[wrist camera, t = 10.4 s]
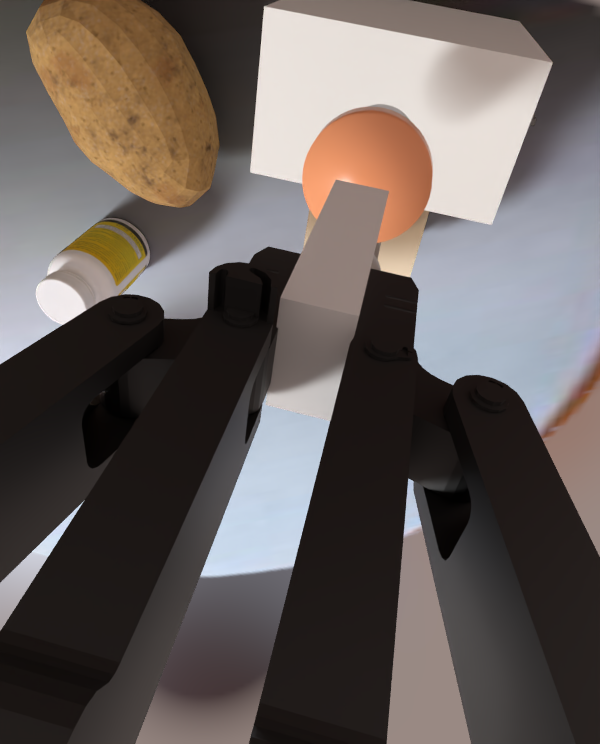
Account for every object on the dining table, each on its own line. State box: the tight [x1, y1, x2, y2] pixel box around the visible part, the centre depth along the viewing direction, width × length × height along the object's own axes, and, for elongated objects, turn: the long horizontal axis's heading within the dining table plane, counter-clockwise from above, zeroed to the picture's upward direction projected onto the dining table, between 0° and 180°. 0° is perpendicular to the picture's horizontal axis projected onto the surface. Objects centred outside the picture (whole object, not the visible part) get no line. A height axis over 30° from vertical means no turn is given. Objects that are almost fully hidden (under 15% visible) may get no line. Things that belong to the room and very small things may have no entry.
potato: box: [26, 0, 219, 208], centre depth 37 cm, size 10×14×8 cm
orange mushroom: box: [302, 104, 433, 243], centre depth 21 cm, size 4×4×5 cm
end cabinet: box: [250, 0, 553, 225], centre depth 31 cm, size 7×13×14 cm, turn 82°
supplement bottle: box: [36, 218, 150, 325], centre depth 45 cm, size 5×5×10 cm
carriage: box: [303, 209, 429, 277], centre depth 34 cm, size 8×7×15 cm
